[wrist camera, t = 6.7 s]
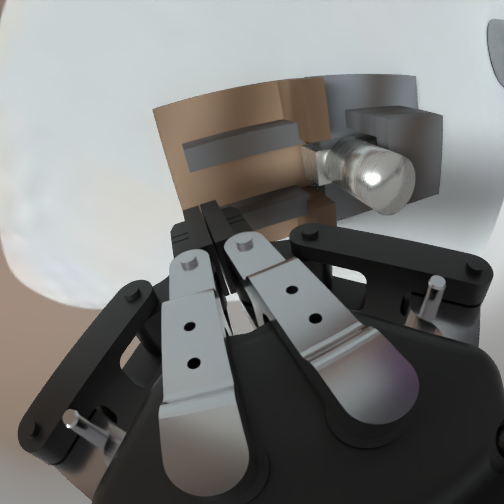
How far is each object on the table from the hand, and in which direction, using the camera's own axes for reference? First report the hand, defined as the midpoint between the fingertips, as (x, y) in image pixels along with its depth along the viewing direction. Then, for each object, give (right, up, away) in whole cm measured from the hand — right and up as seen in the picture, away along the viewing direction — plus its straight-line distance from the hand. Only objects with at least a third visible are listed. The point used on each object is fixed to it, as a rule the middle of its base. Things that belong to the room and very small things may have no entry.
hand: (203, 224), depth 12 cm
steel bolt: (+9, +5, +4) cm, 11 cm away
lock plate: (+6, +5, +5) cm, 10 cm away
